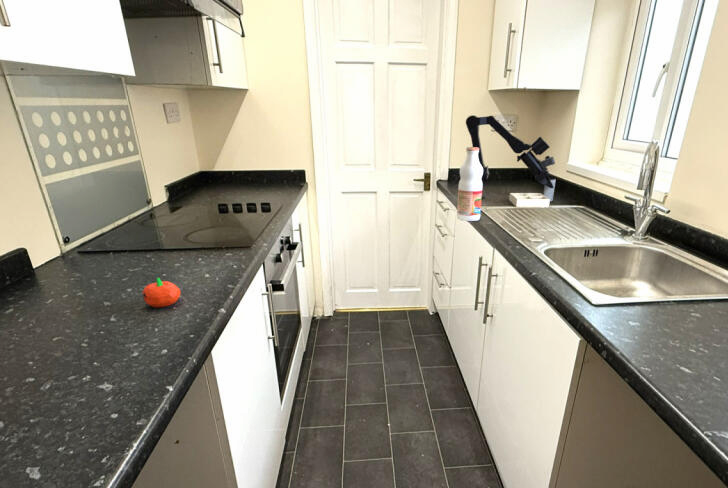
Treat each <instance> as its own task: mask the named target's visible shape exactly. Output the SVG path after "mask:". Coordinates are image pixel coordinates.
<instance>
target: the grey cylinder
mask: <svg viewBox="0 0 728 488" xmlns="http://www.w3.org/2000/svg"><path fill="white" fill-rule="evenodd" d="M549 179H550V181H551V183H552V185H553V188H550V187H548V186H546V185H544V188H543V194H542V195H544V196H546V197H547V198H549V199H550V202H553V200H554V194H555V193H554V192H555V187H556V180H557V179H556V178H552V177H549Z"/></svg>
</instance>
